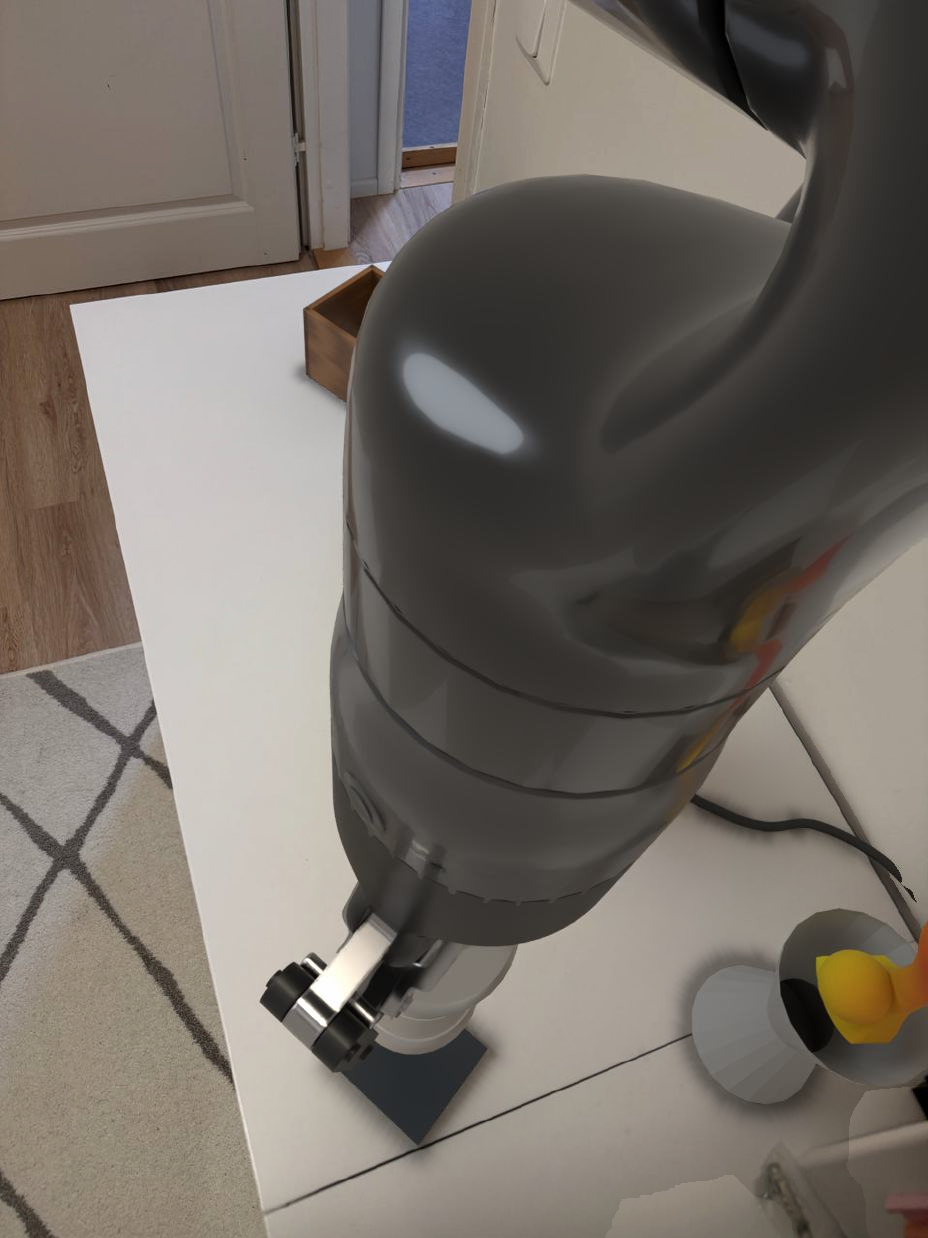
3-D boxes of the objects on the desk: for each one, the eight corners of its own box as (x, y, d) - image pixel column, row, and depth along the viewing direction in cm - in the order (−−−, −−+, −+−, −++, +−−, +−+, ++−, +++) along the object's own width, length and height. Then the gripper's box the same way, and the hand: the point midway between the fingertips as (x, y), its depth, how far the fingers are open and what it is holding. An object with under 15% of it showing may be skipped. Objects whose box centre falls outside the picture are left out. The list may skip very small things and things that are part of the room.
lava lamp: (800, 961, 64) (1193, 774, 34) (832, 1105, 59) (1321, 1031, 29) (678, 963, 63) (975, 771, 33) (701, 1109, 58) (1070, 1037, 28)
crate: (447, 380, 91) (455, 316, 84) (385, 429, 86) (388, 365, 80) (370, 329, 94) (372, 263, 87) (305, 374, 89) (302, 308, 82)
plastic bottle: (479, 929, 48) (553, 792, 31) (467, 1069, 44) (544, 1001, 27) (359, 914, 47) (369, 767, 31) (337, 1053, 44) (334, 974, 27)
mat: (486, 1049, 58) (488, 1048, 58) (417, 1146, 55) (418, 1146, 54) (405, 976, 60) (406, 975, 60) (334, 1066, 57) (334, 1065, 56)
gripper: (430, 1164, 14) (387, 1171, 28) (820, 605, 21) (628, 836, 35) (111, 858, 16) (220, 1008, 30) (563, 438, 23) (479, 720, 37)
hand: (440, 915), depth 33 cm, fingers closed on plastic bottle, 6 cm apart
